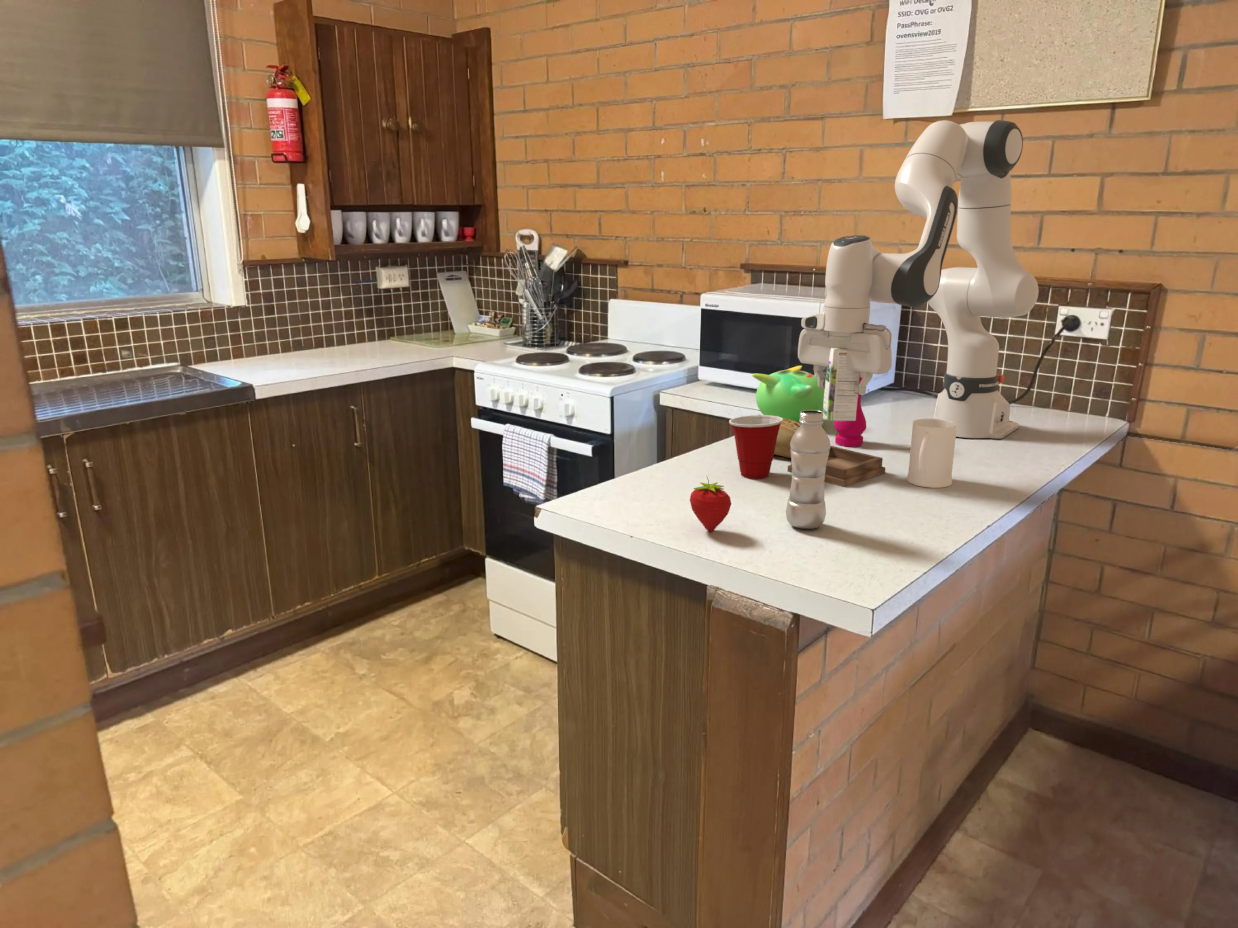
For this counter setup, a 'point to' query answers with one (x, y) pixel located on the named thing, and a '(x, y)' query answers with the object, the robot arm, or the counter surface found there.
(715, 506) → the strawberry
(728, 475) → the counter surface
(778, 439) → the bread roll
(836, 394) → the syrup box
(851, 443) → the pepper mill
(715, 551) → the counter surface
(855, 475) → the walnut stand
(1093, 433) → the counter surface
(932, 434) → the mug
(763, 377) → the toy bird
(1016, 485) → the counter surface
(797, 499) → the plastic bottle
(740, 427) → the plastic cup
